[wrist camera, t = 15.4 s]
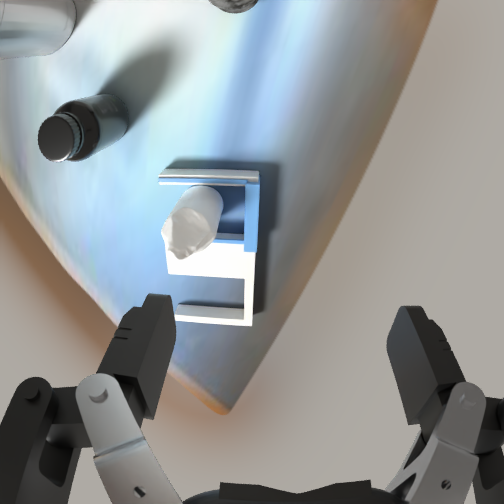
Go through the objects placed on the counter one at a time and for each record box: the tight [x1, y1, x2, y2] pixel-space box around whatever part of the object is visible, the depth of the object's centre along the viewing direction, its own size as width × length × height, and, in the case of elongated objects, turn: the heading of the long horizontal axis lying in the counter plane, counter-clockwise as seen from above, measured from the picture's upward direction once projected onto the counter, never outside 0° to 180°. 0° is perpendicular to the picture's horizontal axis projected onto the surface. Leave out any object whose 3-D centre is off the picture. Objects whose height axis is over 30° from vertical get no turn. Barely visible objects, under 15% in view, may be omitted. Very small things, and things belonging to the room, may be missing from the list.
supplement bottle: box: [38, 94, 129, 162], centre depth 31 cm, size 7×7×12 cm
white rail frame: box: [158, 169, 260, 326], centre depth 43 cm, size 12×23×4 cm, turn 178°
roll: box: [161, 185, 223, 261], centre depth 36 cm, size 6×12×6 cm
